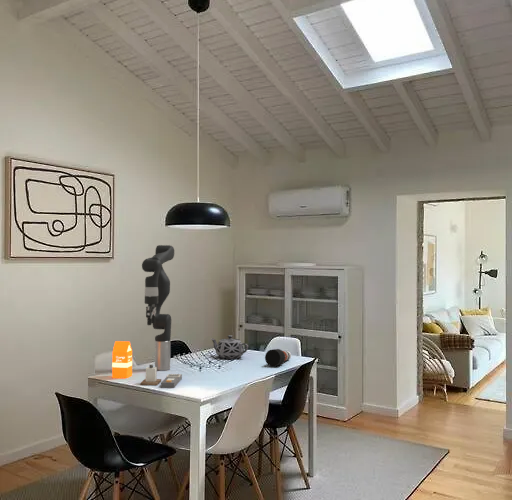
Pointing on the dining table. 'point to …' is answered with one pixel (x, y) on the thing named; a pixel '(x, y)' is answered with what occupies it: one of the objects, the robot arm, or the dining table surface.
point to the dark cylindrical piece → (277, 357)
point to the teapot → (229, 348)
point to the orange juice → (122, 360)
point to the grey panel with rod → (171, 380)
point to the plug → (151, 374)
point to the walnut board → (150, 382)
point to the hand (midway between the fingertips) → (151, 324)
